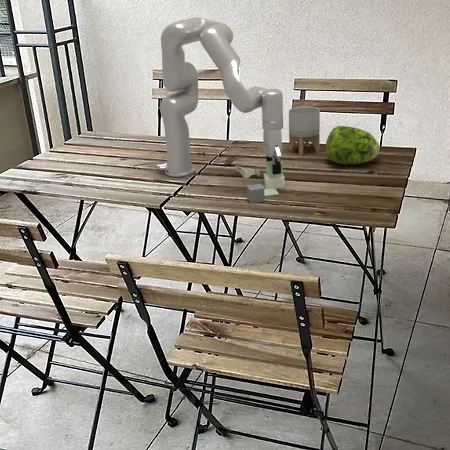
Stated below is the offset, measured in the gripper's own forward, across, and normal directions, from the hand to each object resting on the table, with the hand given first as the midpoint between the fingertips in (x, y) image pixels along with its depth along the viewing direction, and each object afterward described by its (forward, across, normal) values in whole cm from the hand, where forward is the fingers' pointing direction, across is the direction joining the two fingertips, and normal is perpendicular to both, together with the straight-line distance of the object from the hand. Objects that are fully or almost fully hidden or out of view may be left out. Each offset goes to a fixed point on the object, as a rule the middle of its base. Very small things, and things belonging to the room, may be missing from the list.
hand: (273, 170), depth 234 cm
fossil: (+7, -15, -6) cm, 18 cm away
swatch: (+6, +7, -4) cm, 10 cm away
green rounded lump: (+6, -13, +36) cm, 39 cm away
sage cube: (+2, 0, 0) cm, 2 cm away
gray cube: (+6, +12, -10) cm, 17 cm away
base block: (+6, 0, 0) cm, 6 cm away
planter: (+6, -35, +23) cm, 42 cm away
